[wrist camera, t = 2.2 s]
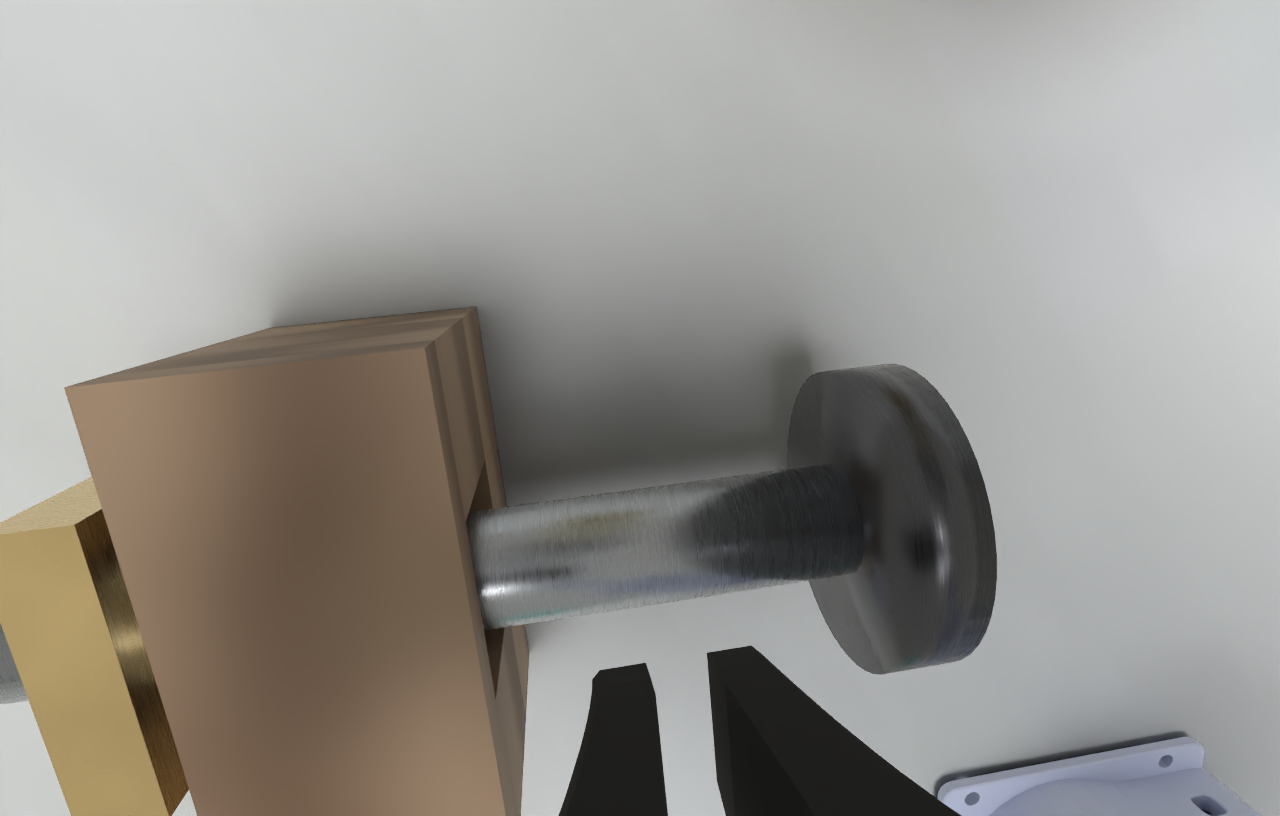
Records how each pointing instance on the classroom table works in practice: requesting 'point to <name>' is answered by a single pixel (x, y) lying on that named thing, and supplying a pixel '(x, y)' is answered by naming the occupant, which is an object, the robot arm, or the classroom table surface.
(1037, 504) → the classroom table surface
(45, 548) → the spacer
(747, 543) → the shaft
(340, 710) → the bearing block
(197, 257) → the classroom table surface
